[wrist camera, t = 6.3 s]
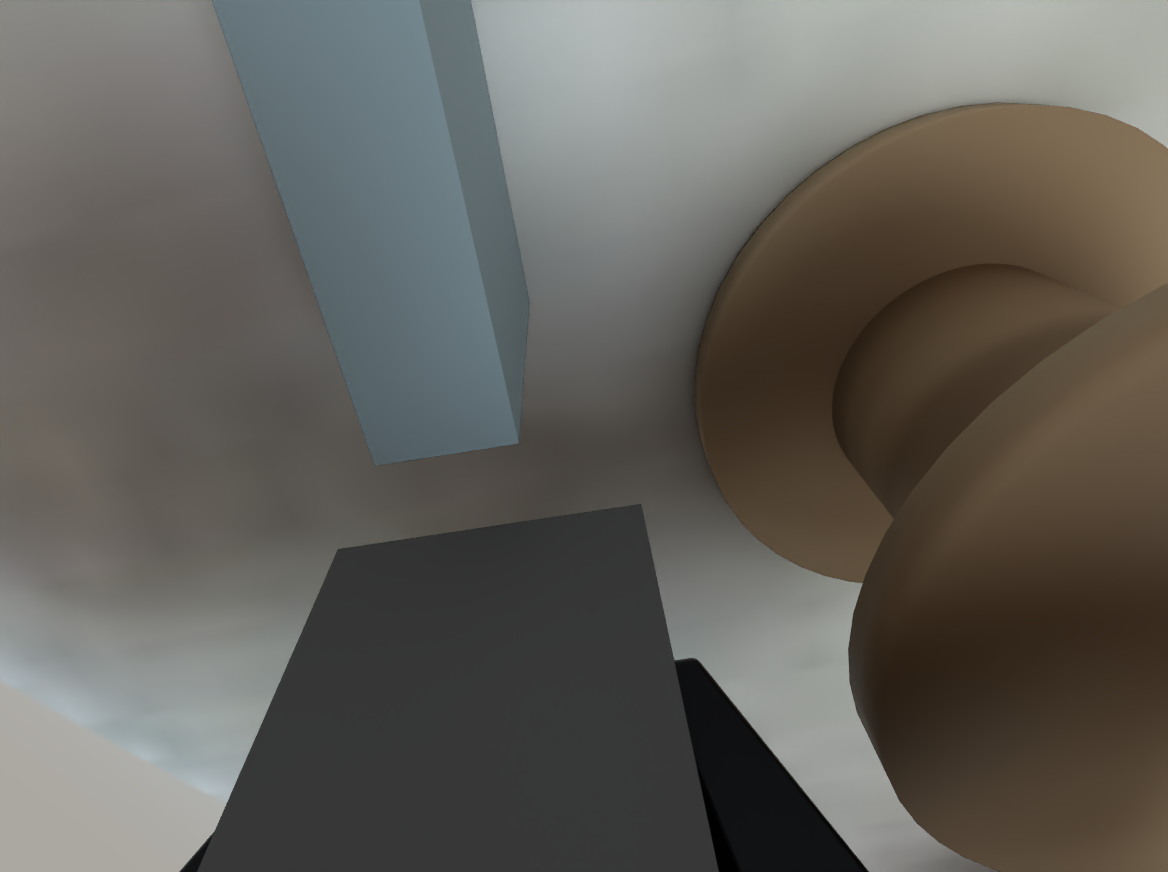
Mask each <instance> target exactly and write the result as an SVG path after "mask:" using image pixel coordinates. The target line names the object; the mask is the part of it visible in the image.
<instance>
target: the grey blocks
mask: <svg viewBox="0 0 1168 872" xmlns="http://www.w3.org/2000/svg"><path fill="white" fill-rule="evenodd" d="M212 2H213V5H214V7H215V10H216V13H217V16H218V19H219V22H220V25H221V27H222V30H223V33H224V36H225V39H226V42H227V45H228V47H229V50H230V53H231V56H232V59H233V62H234V65H235V68H236V70H237V73H238V76H239V79H240V82H241V85H242V88H243V90H244V93H245V96H246V99H247V102H248V105H249V108H250V110H251V113H252V116H253V119H254V122H255V125H256V128H257V131H258V133H259V136H260V139H261V142H262V145H263V148H264V151H265V153H266V156H267V159H268V162H269V165H270V168H271V171H272V174H273V176H274V179H275V182H276V185H277V188H278V191H279V194H280V196H281V199H282V202H283V205H284V208H285V211H286V214H287V216H288V219H289V222H290V225H291V228H292V231H293V234H294V237H295V239H296V242H297V245H298V248H299V251H300V254H301V257H302V259H303V262H304V265H305V268H306V271H307V274H308V277H309V279H310V282H311V285H312V288H313V291H314V294H315V297H316V300H317V302H318V305H319V308H320V311H321V314H322V317H323V320H324V322H325V325H326V328H327V331H328V334H329V337H330V340H331V343H332V345H333V348H334V351H335V354H336V357H337V360H338V363H339V365H340V368H341V371H342V374H343V377H344V380H345V383H346V385H347V388H348V391H349V394H350V397H351V400H352V403H353V406H354V408H355V411H356V414H357V417H358V420H359V423H360V426H361V428H362V431H363V434H364V437H365V440H366V443H367V446H368V448H369V451H370V454H371V457H372V460H373V463H374V466H377V465H384V464H390V463H397V462H403V461H410V460H416V459H423V458H429V457H435V456H442V455H448V454H455V453H461V452H468V451H474V450H481V449H487V448H494V447H500V446H506V445H513V444H519V437H520V423H521V410H522V397H523V383H524V370H525V357H526V343H527V330H528V317H529V298H528V292H527V287H526V282H525V277H524V272H523V267H522V262H521V256H520V251H519V246H518V241H517V236H516V231H515V226H514V220H513V215H512V210H511V205H510V200H509V195H508V190H507V184H506V179H505V174H504V169H503V164H502V159H501V154H500V148H499V143H498V138H497V133H496V128H495V123H494V118H493V112H492V107H491V102H490V97H489V92H488V87H487V82H486V76H485V71H484V66H483V61H482V56H481V51H480V46H479V40H478V35H477V30H476V25H475V20H474V15H473V10H472V4H471V0H212Z"/></svg>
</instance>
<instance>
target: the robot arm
mask: <svg viewBox="0 0 1168 872" xmlns="http://www.w3.org/2000/svg"><path fill="white" fill-rule="evenodd" d="M674 662H675V667H676V672H677V677H678V681H679V686H680V691H681V696H682V700H683V705H684V710H685V714H686V719H687V724H688V729H689V733H690V738H691V743H692V748H693V752H694V757H695V762H696V766H697V771H698V776H699V781H700V785H701V790H702V795H703V800H704V804H705V809H706V814H707V818H708V823H709V828H710V833H711V837H712V842H713V847H714V851H715V856H716V861H717V866H718V870H719V872H869V871H868V870H867V869H866V868H865V866H864V865H863V864H862V863H861V861H860V860H859V859H858V858H857V856H856V855H855V854H854V853H853V851H852V850H851V849H850V848H849V846H848V845H847V844H846V843H845V841H844V840H843V839H842V838H841V837H840V835H839V834H838V833H837V832H836V830H835V829H834V828H833V827H832V825H831V824H830V823H829V822H828V820H827V819H826V818H825V817H824V815H823V814H822V813H821V812H820V810H819V809H818V808H817V807H816V805H815V804H814V803H813V802H812V800H811V799H810V798H809V797H808V796H807V794H806V793H805V792H804V791H803V789H802V788H801V787H800V786H799V784H798V783H797V782H796V781H795V779H794V778H793V777H792V776H791V774H790V773H789V772H788V771H787V769H786V768H785V767H784V766H783V764H782V763H781V762H780V761H779V759H778V758H777V757H776V756H775V755H774V753H773V752H772V751H771V750H770V748H769V747H768V746H767V745H766V743H765V742H764V741H763V740H762V738H761V737H760V736H759V735H758V733H757V732H756V731H755V730H754V728H753V727H752V726H751V725H750V723H749V722H748V721H747V720H746V718H745V717H744V716H743V715H742V714H741V712H740V711H739V710H738V709H737V707H736V706H735V705H734V704H733V702H732V701H731V700H730V699H729V697H728V696H727V695H726V694H725V692H724V691H723V690H722V689H721V687H720V686H719V685H718V684H717V682H716V681H715V680H714V679H713V677H712V676H711V675H710V674H709V673H708V671H707V670H706V669H705V668H704V666H703V665H702V664H701V663H700V662H699V661H698V660H697V659H695V658H688V659H681V660H674ZM214 832H215V831H214ZM213 834H214V833H213ZM213 834H212V835H211V836H210V837H209V838H208V839H207V841H206V842H205V843H204V844H203V845H202V846H201V847H200V849H199V850H198V851H197V852H196V853H195V854H194V856H193V857H192V858H191V859H190V860H189V861H188V862H187V864H186V865H185V866H184V867H183V868H182V869H181V871H180V872H197V871H198V868H199V866H200V864H201V862H202V859H203V857H204V855H205V852H206V850H207V848H208V846H209V843H210V841H211V839H212V836H213Z"/></svg>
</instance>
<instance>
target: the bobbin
mask: <svg viewBox="0 0 1168 872" xmlns="http://www.w3.org/2000/svg"><path fill="white" fill-rule="evenodd" d="M695 411H696V417H697V424H698V430H699V435H700V438H701V441H702V445H703V448H704V451H705V454H706V457H707V460H708V462H709V465H710V467H711V470H712V472H713V475H714V477H715V480H716V482H717V484H718V486H719V488H720V490H721V492H722V494H723V496H724V498H725V500H726V502H727V503H728V505H729V506H730V507H731V509H732V510H733V512H734V513H735V514H736V516H737V517H738V519H739V520H740V521H741V523H742V524H743V525H744V526H745V527H746V528H747V529H748V530H749V531H750V532H751V533H752V534H753V535H754V536H755V537H756V538H757V539H758V540H759V541H761V542H762V543H763V544H765V545H766V546H767V547H769V548H770V549H771V550H773V551H774V552H775V553H777V554H778V555H780V556H782V557H783V558H785V559H787V560H789V561H791V562H793V563H795V564H797V565H798V566H800V567H803V568H805V569H808V570H811V571H813V572H816V573H819V574H822V575H824V576H828V577H832V578H837V579H841V580H845V581H850V582H858V583H863V584H862V587H861V591H860V594H859V597H858V600H857V603H856V607H855V610H854V613H853V620H852V627H851V634H850V641H849V648H848V654H849V678H850V686H851V690H852V694H853V698H854V702H855V706H856V710H857V713H858V715H859V717H860V719H861V722H862V724H863V726H864V728H865V730H866V732H867V734H868V736H869V738H870V740H871V743H872V745H873V747H874V749H875V751H876V753H877V755H878V757H879V759H880V761H881V763H882V766H883V768H884V770H885V772H886V774H887V776H888V778H889V780H890V782H891V784H892V786H893V788H894V791H895V793H896V795H897V797H898V799H899V801H900V802H901V803H902V805H903V806H904V807H905V809H906V810H907V811H908V812H909V814H910V815H911V816H912V818H913V819H914V820H915V822H916V823H917V824H918V825H919V826H921V827H922V828H923V829H924V830H925V831H926V832H928V833H929V834H930V835H931V836H932V837H933V838H935V839H936V840H937V841H938V842H939V843H941V844H943V845H944V846H946V847H948V848H949V849H951V850H953V851H954V852H956V853H958V854H959V855H961V856H963V857H965V858H967V859H969V860H972V861H974V862H977V863H979V864H982V865H984V866H986V867H989V868H991V869H994V870H997V871H1001V872H1168V149H1167V148H1166V147H1165V146H1164V145H1162V144H1161V143H1159V142H1158V141H1156V140H1155V139H1153V138H1152V137H1150V136H1149V135H1147V134H1146V133H1144V132H1143V131H1141V130H1139V129H1138V128H1136V127H1133V126H1131V125H1128V124H1126V123H1124V122H1121V121H1119V120H1116V119H1114V118H1111V117H1109V116H1107V115H1103V114H1098V113H1094V112H1089V111H1084V110H1080V109H1075V108H1071V107H1060V106H1047V105H1034V104H1015V103H990V104H980V105H969V106H960V107H956V108H952V109H948V110H944V111H939V112H935V113H931V114H927V115H923V116H920V117H917V118H915V119H912V120H909V121H907V122H904V123H901V124H899V125H896V126H894V127H891V128H888V129H886V130H884V131H882V132H880V133H878V134H876V135H874V136H872V137H870V138H868V139H866V140H865V141H863V142H861V143H859V144H857V145H855V146H853V147H851V148H849V149H848V150H846V151H845V152H844V153H842V154H841V155H839V156H838V157H836V158H835V159H833V160H832V161H830V162H829V163H827V164H826V165H824V166H823V167H821V168H820V169H819V170H817V171H816V172H815V173H813V174H812V175H811V176H810V177H809V178H808V179H806V180H805V181H804V182H803V183H802V184H801V185H800V186H798V187H797V188H796V189H795V190H794V191H793V192H791V193H790V194H789V195H788V196H787V197H786V198H785V199H784V200H783V201H782V202H781V203H780V204H779V205H778V206H777V207H776V209H775V210H774V211H773V212H772V213H771V214H770V215H769V216H768V217H767V218H766V219H765V220H764V222H763V223H762V224H761V225H760V226H759V227H758V229H757V230H756V231H755V233H754V234H753V236H752V237H751V238H750V240H749V241H748V242H747V244H746V245H745V246H744V248H743V249H742V251H741V252H740V253H739V255H738V256H737V258H736V260H735V261H734V263H733V265H732V267H731V268H730V270H729V272H728V274H727V276H726V277H725V279H724V281H723V283H722V284H721V286H720V288H719V291H718V293H717V296H716V298H715V300H714V303H713V305H712V308H711V310H710V312H709V315H708V317H707V320H706V324H705V328H704V331H703V335H702V339H701V342H700V346H699V351H698V358H697V365H696V373H695Z"/></svg>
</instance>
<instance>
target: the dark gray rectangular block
mask: <svg viewBox="0 0 1168 872" xmlns="http://www.w3.org/2000/svg"><path fill="white" fill-rule="evenodd" d="M197 872H719V870H718V866H717V861H716V856H715V851H714V847H713V842H712V837H711V833H710V828H709V823H708V818H707V814H706V809H705V804H704V800H703V795H702V790H701V785H700V781H699V776H698V771H697V766H696V762H695V757H694V752H693V748H692V743H691V738H690V733H689V729H688V724H687V719H686V714H685V710H684V705H683V700H682V696H681V691H680V686H679V681H678V677H677V672H676V667H675V662H674V658H673V653H672V648H671V644H670V639H669V634H668V629H667V625H666V620H665V615H664V611H663V606H662V601H661V596H660V592H659V587H658V582H657V577H656V573H655V568H654V563H653V559H652V554H651V549H650V544H649V540H648V535H647V530H646V525H645V521H644V516H643V511H642V507H641V504H638V505H631V506H625V507H618V508H611V509H605V510H598V511H591V512H584V513H578V514H571V515H564V516H558V517H551V518H544V519H538V520H531V521H524V522H517V523H511V524H504V525H497V526H491V527H484V528H477V529H471V530H464V531H457V532H451V533H444V534H437V535H430V536H424V537H417V538H410V539H404V540H397V541H390V542H384V543H377V544H370V545H364V546H357V547H350V548H343V549H338V551H337V553H336V555H335V557H334V560H333V562H332V564H331V567H330V569H329V571H328V573H327V576H326V578H325V580H324V583H323V585H322V587H321V589H320V592H319V594H318V596H317V599H316V601H315V603H314V605H313V608H312V610H311V612H310V615H309V617H308V619H307V621H306V624H305V626H304V628H303V631H302V633H301V635H300V637H299V640H298V642H297V644H296V647H295V649H294V651H293V653H292V656H291V658H290V660H289V663H288V665H287V667H286V669H285V672H284V674H283V676H282V679H281V681H280V683H279V685H278V688H277V690H276V692H275V695H274V697H273V699H272V702H271V704H270V706H269V708H268V711H267V713H266V715H265V718H264V720H263V722H262V724H261V727H260V729H259V731H258V734H257V736H256V738H255V740H254V743H253V745H252V747H251V750H250V752H249V754H248V756H247V759H246V761H245V763H244V766H243V768H242V770H241V772H240V775H239V777H238V779H237V782H236V784H235V786H234V788H233V791H232V793H231V795H230V798H229V800H228V802H227V804H226V807H225V809H224V811H223V814H222V816H221V818H220V820H219V823H218V825H217V827H216V830H215V832H214V834H213V836H212V839H211V841H210V843H209V846H208V848H207V850H206V852H205V855H204V857H203V859H202V862H201V864H200V866H199V868H198V871H197Z"/></svg>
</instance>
